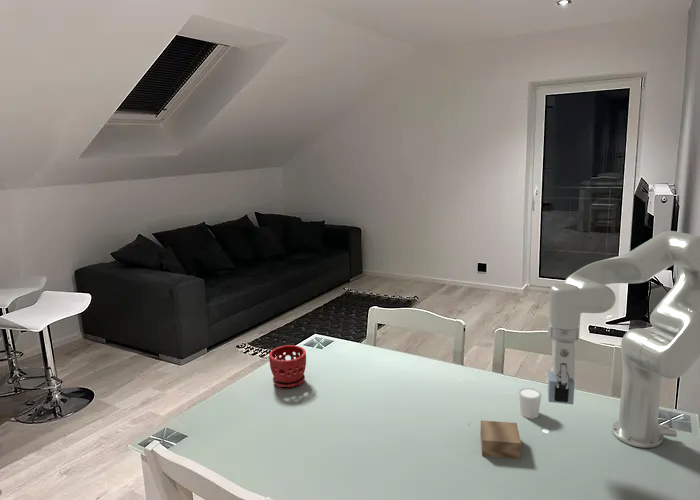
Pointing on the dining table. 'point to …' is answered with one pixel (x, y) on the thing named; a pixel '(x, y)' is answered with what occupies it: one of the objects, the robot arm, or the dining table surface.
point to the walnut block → (500, 439)
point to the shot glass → (529, 402)
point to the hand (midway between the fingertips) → (560, 394)
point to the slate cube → (552, 384)
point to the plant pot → (288, 366)
